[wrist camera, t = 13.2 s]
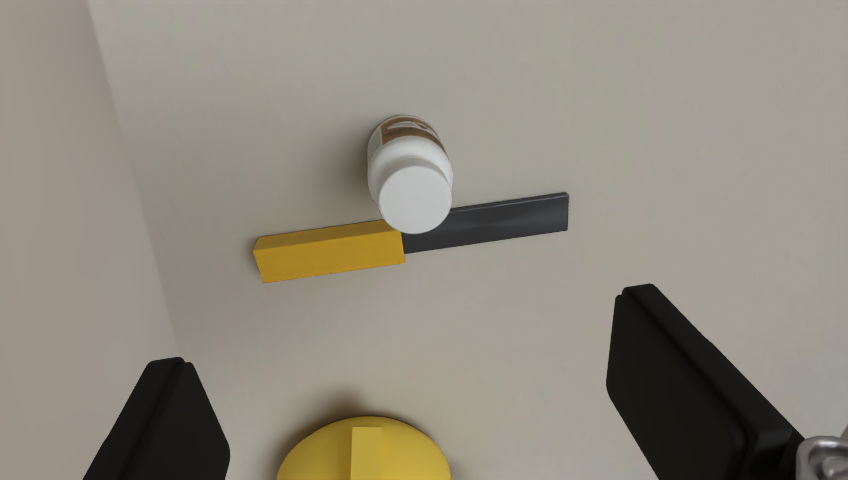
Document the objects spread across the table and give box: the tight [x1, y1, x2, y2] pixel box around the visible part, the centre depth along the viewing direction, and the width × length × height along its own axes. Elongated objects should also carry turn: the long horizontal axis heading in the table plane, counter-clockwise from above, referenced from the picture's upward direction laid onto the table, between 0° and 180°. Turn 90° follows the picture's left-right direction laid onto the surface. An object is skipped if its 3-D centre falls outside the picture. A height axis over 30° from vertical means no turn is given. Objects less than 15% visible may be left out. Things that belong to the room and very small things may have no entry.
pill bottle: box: [367, 115, 453, 234], centre depth 26 cm, size 4×4×8 cm
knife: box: [253, 192, 569, 283], centre depth 31 cm, size 20×3×2 cm, turn 96°
